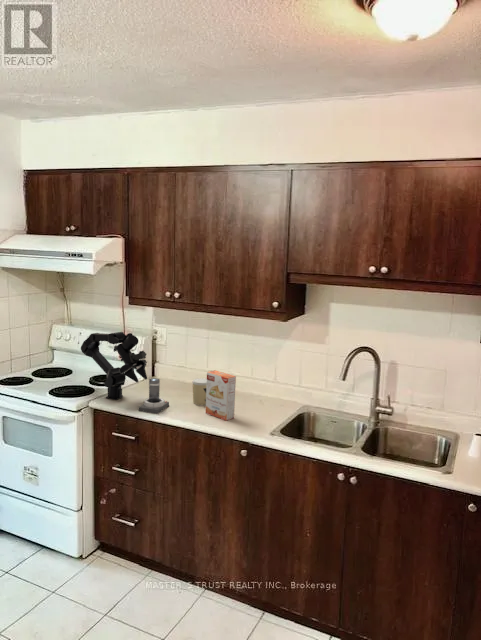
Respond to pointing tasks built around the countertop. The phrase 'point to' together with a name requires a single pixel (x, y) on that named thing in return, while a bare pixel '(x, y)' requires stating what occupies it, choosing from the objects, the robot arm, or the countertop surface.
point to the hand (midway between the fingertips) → (142, 380)
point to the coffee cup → (199, 391)
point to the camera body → (153, 406)
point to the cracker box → (220, 394)
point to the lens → (154, 390)
